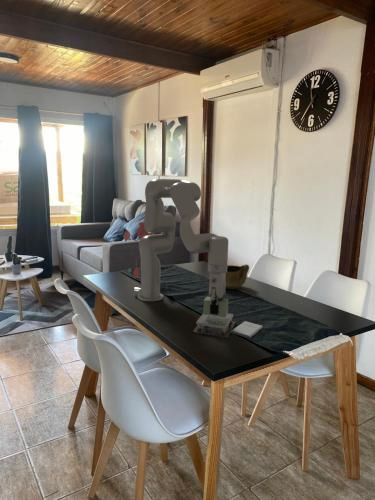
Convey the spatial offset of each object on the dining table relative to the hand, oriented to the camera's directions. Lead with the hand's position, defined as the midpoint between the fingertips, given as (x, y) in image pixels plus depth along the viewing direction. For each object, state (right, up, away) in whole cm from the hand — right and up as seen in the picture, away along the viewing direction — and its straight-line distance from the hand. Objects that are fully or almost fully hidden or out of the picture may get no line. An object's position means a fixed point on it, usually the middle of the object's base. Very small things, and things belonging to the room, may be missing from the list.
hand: (215, 311), depth 149 cm
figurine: (-36, +7, +69) cm, 78 cm away
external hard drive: (+12, -8, -1) cm, 15 cm away
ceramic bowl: (+13, +4, +56) cm, 58 cm away
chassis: (0, -7, +1) cm, 7 cm away
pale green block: (0, -1, 0) cm, 1 cm away
